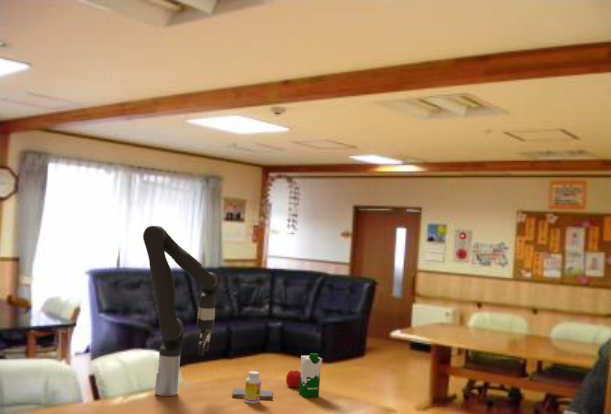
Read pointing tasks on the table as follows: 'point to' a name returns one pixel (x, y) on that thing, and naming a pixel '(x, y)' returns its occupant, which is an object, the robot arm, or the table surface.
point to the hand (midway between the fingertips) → (203, 353)
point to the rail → (239, 395)
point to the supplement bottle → (252, 388)
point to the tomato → (293, 379)
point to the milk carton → (310, 376)
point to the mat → (260, 392)
